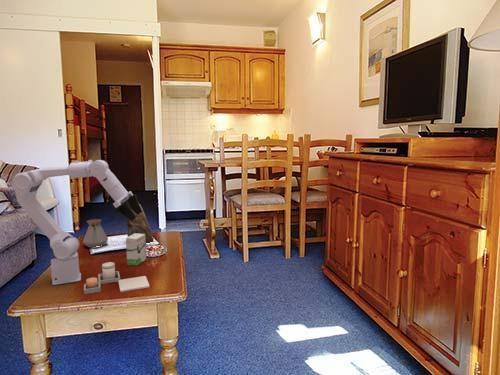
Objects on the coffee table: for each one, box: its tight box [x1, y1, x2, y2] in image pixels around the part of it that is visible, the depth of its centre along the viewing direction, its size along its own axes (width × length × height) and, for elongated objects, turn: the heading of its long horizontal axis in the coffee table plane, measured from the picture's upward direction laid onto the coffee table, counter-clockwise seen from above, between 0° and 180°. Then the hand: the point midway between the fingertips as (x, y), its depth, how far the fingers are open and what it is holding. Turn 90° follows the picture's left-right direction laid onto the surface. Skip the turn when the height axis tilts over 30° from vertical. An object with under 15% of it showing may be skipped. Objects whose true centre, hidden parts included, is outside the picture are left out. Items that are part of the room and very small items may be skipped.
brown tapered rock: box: [126, 203, 154, 243], centre depth 183 cm, size 13×13×20 cm
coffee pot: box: [82, 218, 109, 249], centre depth 174 cm, size 21×12×15 cm, turn 21°
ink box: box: [125, 233, 147, 266], centre depth 156 cm, size 9×5×12 cm, turn 168°
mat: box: [117, 275, 150, 293], centre depth 134 cm, size 10×10×1 cm
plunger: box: [85, 276, 99, 289], centre depth 129 cm, size 4×4×2 cm
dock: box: [83, 270, 121, 295], centre depth 135 cm, size 12×14×2 cm
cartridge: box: [101, 261, 116, 280], centre depth 138 cm, size 4×4×6 cm
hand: (137, 216), depth 138 cm, fingers open, 7 cm apart
